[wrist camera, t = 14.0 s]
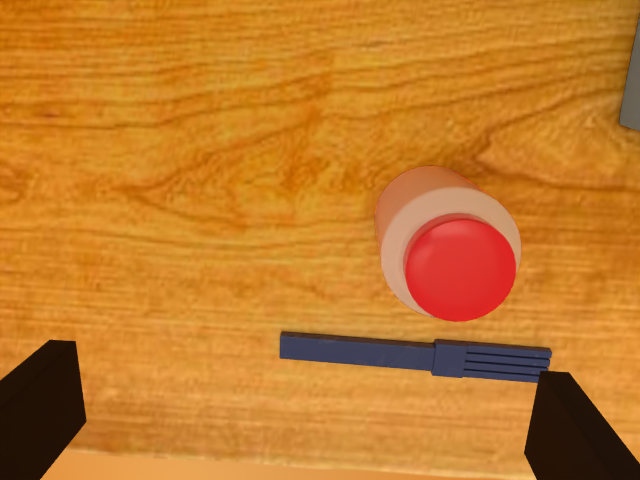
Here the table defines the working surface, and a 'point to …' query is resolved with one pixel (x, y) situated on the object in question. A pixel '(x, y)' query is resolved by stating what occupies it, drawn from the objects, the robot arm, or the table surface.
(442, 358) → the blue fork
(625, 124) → the container
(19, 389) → the robot arm
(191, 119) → the table surface
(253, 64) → the table surface
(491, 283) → the pill bottle
